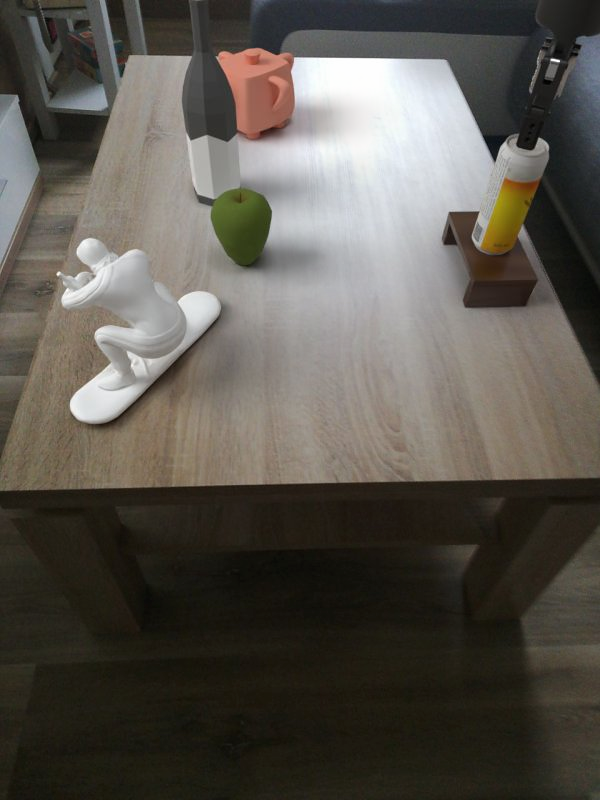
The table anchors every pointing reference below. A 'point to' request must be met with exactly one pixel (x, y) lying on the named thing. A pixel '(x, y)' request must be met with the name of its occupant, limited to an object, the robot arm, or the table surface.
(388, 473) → the table surface
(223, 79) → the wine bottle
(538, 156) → the beer can
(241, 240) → the apple
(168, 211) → the table surface
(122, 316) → the figurine
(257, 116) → the teapot
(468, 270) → the shelf
